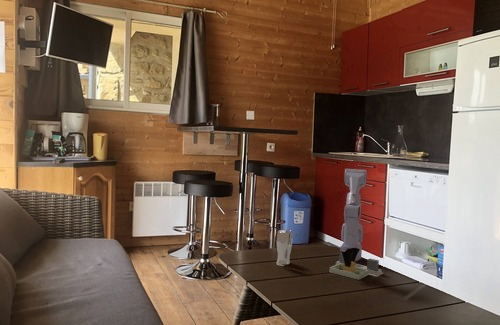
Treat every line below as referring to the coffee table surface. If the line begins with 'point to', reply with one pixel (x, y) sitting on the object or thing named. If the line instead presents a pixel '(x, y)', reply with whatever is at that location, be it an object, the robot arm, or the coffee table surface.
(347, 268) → the block
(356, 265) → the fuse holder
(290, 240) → the beer glass
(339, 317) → the coffee table surface
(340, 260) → the block
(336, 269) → the tray
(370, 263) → the block
